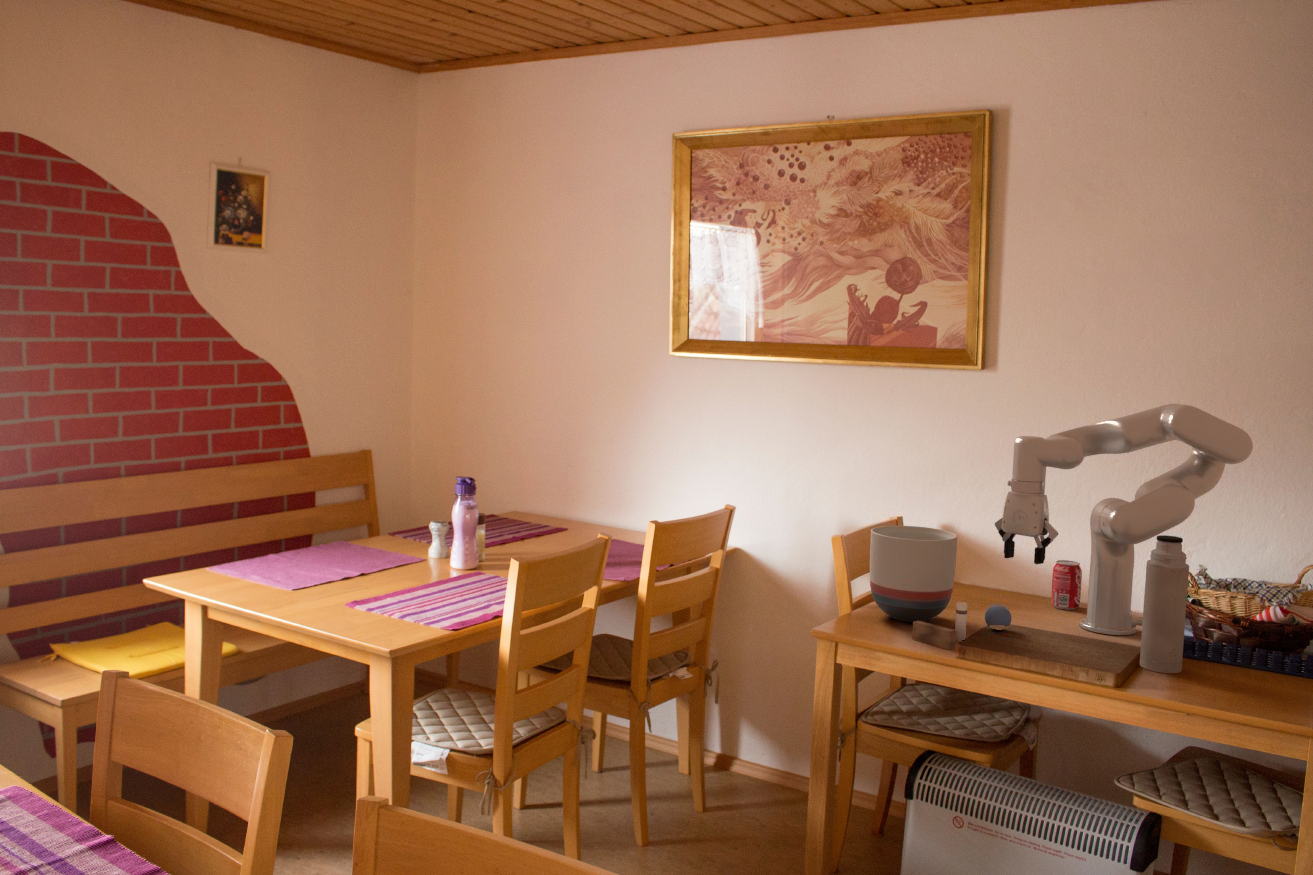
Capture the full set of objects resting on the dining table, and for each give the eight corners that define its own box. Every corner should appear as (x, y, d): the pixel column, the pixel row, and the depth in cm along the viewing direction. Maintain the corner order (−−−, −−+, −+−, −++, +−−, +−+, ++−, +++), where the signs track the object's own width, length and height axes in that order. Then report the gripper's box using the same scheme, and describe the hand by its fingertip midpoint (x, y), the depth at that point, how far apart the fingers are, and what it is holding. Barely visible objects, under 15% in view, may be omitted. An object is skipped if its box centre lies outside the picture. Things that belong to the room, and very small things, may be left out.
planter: (864, 606, 261) (868, 523, 259) (946, 611, 258) (951, 528, 256) (869, 627, 241) (873, 537, 239) (958, 633, 238) (963, 542, 236)
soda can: (1074, 605, 269) (1077, 560, 269) (1083, 611, 262) (1086, 565, 262) (1047, 603, 270) (1050, 558, 269) (1054, 610, 263) (1057, 564, 262)
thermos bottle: (1147, 659, 221) (1157, 531, 219) (1187, 668, 215) (1196, 537, 213) (1133, 666, 215) (1142, 535, 213) (1173, 675, 210) (1183, 541, 208)
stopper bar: (912, 638, 232) (913, 621, 231) (917, 637, 233) (918, 620, 233) (949, 649, 224) (950, 631, 224) (954, 648, 225) (955, 630, 225)
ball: (1011, 628, 243) (1013, 604, 243) (1009, 634, 238) (1011, 609, 237) (985, 625, 246) (986, 601, 245) (982, 631, 240) (984, 606, 240)
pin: (966, 638, 233) (968, 602, 232) (965, 641, 231) (967, 604, 230) (955, 637, 234) (957, 601, 233) (953, 640, 232) (955, 603, 231)
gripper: (987, 484, 249) (983, 555, 251) (1053, 493, 236) (1048, 568, 237) (1005, 482, 254) (1000, 552, 255) (1070, 491, 240) (1065, 565, 242)
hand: (1023, 560), depth 246 cm, fingers open, 7 cm apart
